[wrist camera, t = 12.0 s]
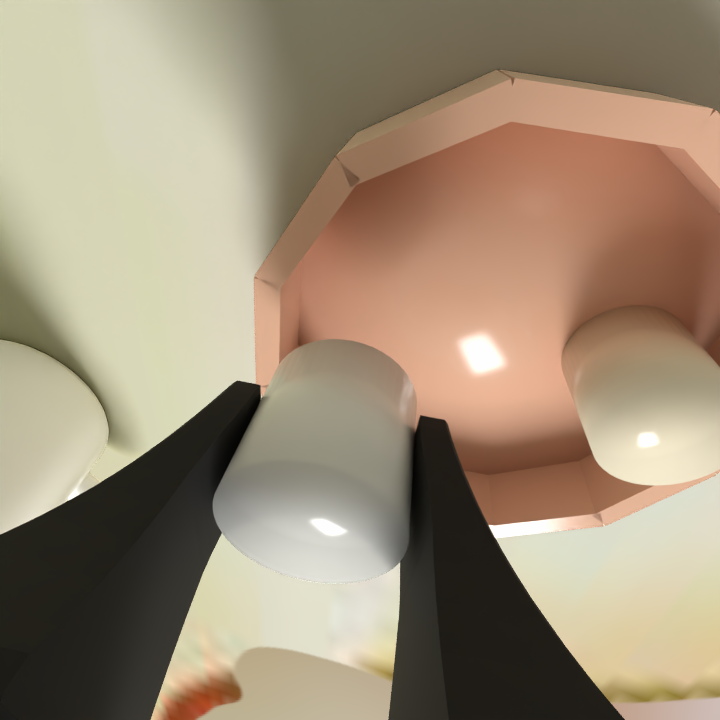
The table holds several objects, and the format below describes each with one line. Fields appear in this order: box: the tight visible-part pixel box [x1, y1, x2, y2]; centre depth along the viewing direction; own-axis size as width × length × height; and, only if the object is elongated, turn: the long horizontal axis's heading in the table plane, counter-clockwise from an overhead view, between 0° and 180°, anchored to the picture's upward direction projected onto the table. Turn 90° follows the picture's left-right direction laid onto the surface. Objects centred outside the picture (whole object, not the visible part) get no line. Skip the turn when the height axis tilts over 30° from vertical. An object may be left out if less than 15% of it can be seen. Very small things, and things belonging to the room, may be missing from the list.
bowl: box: [254, 69, 720, 538], centre depth 15 cm, size 16×16×3 cm
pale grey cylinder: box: [213, 339, 417, 584], centre depth 11 cm, size 4×4×4 cm
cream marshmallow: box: [561, 305, 720, 485], centre depth 14 cm, size 4×4×4 cm
